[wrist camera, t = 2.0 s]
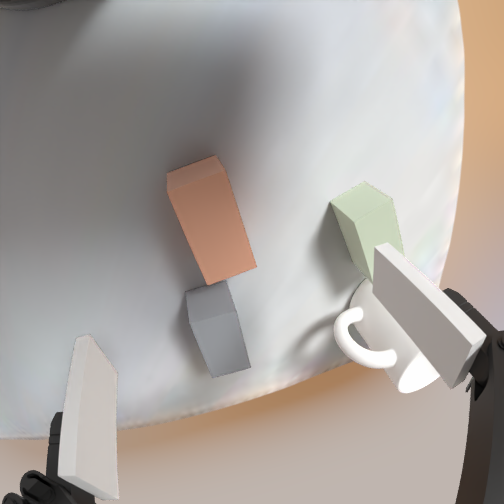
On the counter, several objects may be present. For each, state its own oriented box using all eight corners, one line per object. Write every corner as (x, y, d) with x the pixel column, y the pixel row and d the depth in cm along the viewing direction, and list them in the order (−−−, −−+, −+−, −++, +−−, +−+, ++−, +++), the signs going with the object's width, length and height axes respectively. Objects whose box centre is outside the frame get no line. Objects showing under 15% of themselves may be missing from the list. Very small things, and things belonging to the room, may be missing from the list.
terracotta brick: (166, 172, 21) (166, 192, 17) (215, 154, 21) (225, 170, 17) (200, 255, 24) (207, 285, 21) (243, 238, 25) (256, 267, 21)
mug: (306, 334, 32) (349, 414, 23) (324, 267, 28) (385, 349, 19) (395, 318, 35) (443, 379, 27) (419, 259, 31) (481, 318, 22)
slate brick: (185, 290, 26) (189, 323, 22) (226, 279, 26) (236, 310, 23) (205, 345, 30) (212, 378, 26) (240, 336, 30) (250, 367, 27)
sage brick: (328, 200, 25) (354, 222, 21) (363, 180, 25) (392, 198, 21) (351, 261, 29) (373, 286, 25) (381, 242, 29) (406, 264, 25)
